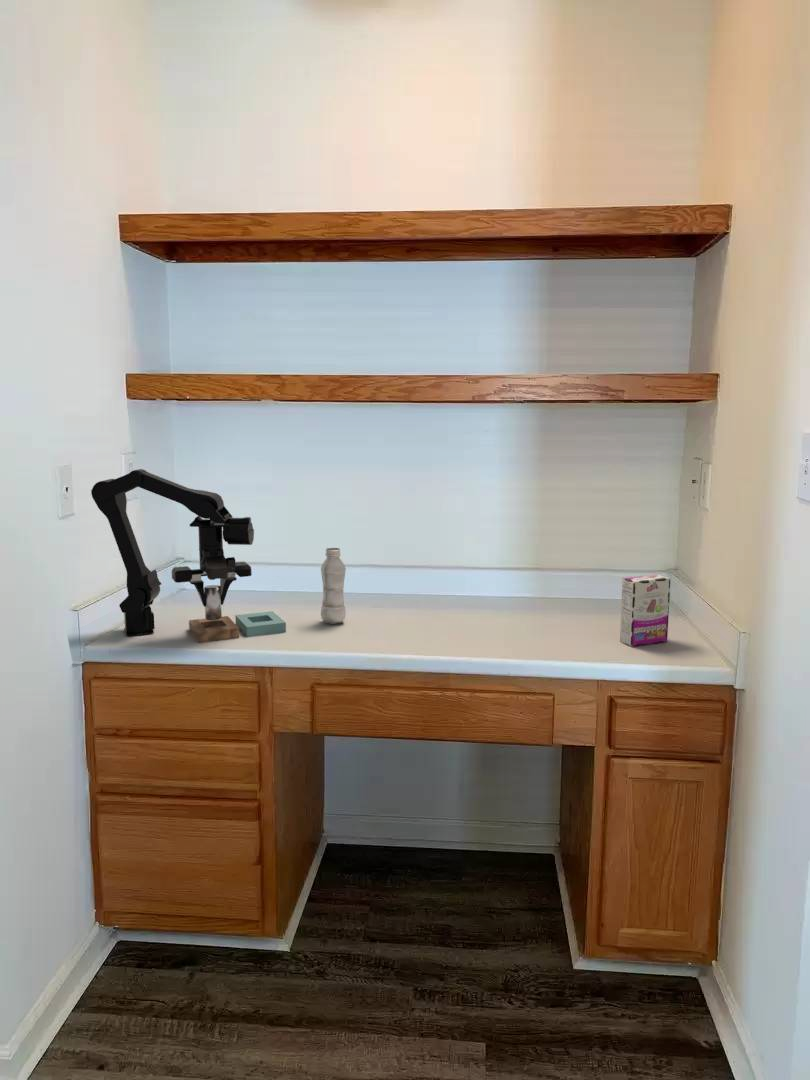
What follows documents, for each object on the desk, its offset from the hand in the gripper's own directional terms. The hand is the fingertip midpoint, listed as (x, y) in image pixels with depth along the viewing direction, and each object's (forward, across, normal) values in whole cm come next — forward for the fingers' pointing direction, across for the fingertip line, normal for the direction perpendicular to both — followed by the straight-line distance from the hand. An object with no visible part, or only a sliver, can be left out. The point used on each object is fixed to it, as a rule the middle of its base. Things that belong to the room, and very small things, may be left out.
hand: (213, 605), depth 197 cm
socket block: (+7, 0, 0) cm, 7 cm away
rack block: (+7, +12, 0) cm, 14 cm away
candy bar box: (+8, +95, -50) cm, 108 cm away
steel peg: (+3, 0, 0) cm, 3 cm away
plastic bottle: (+8, +31, -3) cm, 32 cm away
